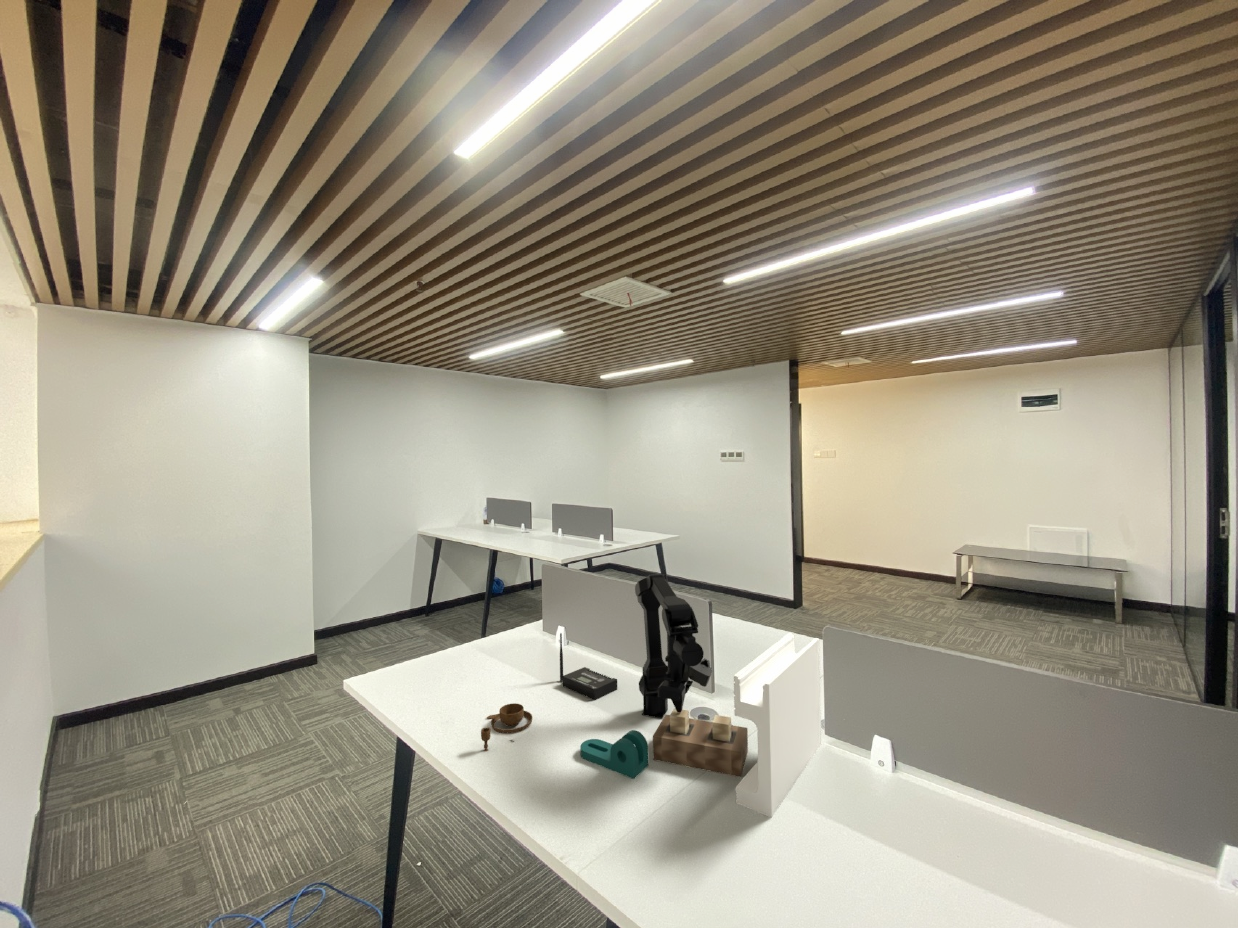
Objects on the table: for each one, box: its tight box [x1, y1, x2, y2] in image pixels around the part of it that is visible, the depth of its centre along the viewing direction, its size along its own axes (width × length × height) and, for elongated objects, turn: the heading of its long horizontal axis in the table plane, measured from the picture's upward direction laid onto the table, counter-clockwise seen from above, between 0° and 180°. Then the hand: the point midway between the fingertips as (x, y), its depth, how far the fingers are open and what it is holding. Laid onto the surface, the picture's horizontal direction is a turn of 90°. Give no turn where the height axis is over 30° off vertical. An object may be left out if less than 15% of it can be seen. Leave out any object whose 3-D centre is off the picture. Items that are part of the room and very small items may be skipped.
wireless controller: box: [559, 632, 618, 701], centre depth 174 cm, size 20×14×17 cm
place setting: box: [480, 703, 533, 752], centre depth 147 cm, size 18×20×6 cm
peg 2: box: [711, 714, 732, 742], centre depth 129 cm, size 4×4×6 cm
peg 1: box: [669, 707, 690, 734], centre depth 133 cm, size 4×4×6 cm
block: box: [733, 632, 822, 818], centre depth 124 cm, size 35×8×28 cm, turn 142°
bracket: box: [579, 729, 649, 780], centre depth 130 cm, size 18×7×8 cm, turn 55°
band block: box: [652, 714, 749, 778], centre depth 131 cm, size 22×12×6 cm, turn 69°
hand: (679, 711), depth 133 cm, fingers closed
